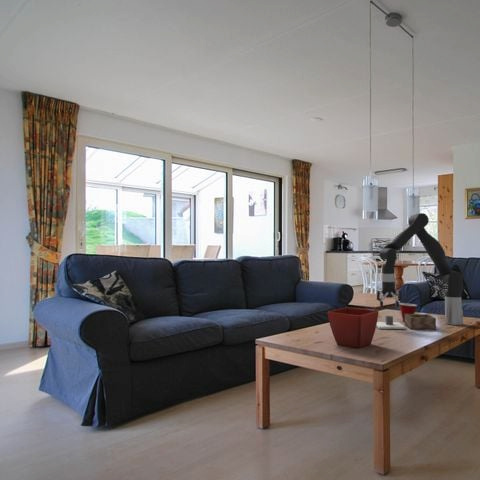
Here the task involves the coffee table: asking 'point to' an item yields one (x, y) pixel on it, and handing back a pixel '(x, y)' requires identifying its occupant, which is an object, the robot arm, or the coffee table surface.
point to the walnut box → (420, 322)
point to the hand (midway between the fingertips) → (389, 307)
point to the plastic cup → (407, 309)
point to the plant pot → (353, 326)
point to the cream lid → (389, 324)
